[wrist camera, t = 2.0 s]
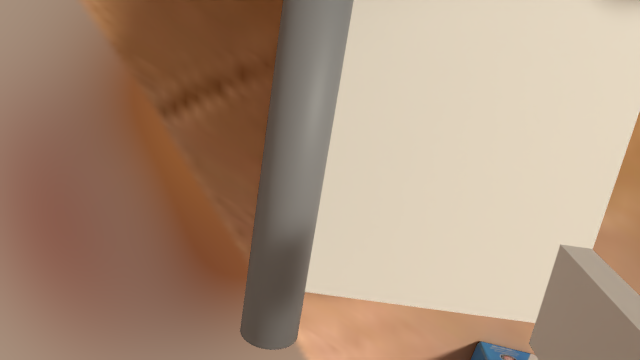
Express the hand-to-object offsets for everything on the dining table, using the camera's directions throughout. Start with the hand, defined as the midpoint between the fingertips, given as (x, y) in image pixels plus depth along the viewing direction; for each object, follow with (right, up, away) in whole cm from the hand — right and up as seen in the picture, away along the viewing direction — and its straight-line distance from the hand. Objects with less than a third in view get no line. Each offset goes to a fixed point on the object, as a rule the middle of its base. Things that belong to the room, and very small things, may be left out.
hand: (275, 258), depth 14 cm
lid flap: (+7, +4, +14) cm, 16 cm away
